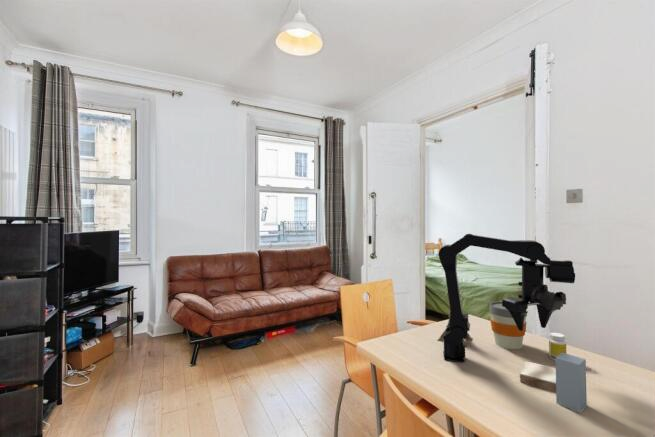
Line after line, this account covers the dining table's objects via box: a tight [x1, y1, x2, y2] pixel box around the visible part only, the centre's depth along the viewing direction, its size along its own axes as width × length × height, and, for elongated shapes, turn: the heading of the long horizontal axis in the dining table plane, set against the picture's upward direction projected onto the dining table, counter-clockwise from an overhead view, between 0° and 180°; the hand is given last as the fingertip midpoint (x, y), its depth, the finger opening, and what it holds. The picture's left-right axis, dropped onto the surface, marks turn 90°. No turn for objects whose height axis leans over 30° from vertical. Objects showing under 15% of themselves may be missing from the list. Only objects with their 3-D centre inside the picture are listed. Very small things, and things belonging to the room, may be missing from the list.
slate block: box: [555, 352, 588, 413], centre depth 80 cm, size 5×5×12 cm
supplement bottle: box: [548, 332, 567, 362], centre depth 105 cm, size 5×5×8 cm
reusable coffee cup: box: [488, 300, 528, 350], centre depth 117 cm, size 13×12×15 cm
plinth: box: [519, 360, 556, 392], centre depth 91 cm, size 10×10×2 cm
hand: (532, 329), depth 97 cm, fingers open, 9 cm apart
